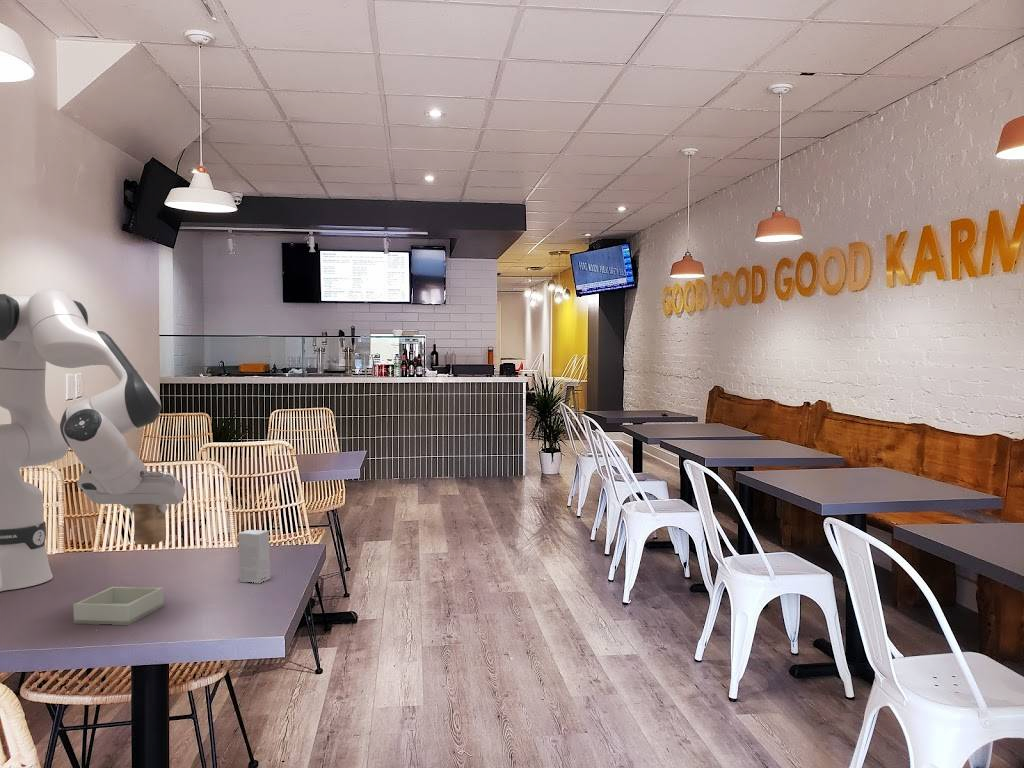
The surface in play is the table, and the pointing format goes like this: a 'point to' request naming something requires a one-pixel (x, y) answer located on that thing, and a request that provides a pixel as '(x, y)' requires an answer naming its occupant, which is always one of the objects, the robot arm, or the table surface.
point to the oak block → (148, 524)
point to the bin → (118, 605)
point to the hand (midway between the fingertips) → (151, 510)
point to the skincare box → (254, 556)
